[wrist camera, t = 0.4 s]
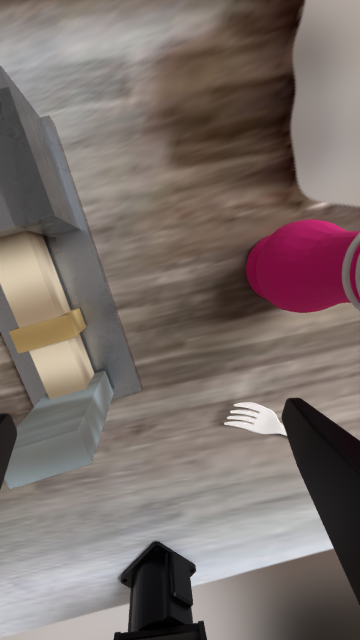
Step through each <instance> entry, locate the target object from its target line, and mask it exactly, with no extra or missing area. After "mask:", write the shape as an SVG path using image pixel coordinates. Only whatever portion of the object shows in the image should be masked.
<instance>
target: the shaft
mask: <svg viewBox="0 0 360 640" xmlns="http://www.w3.org/2000/svg"><path fill="white" fill-rule="evenodd" d="M0 284H1V287H2V289H3V291H4V294H5V296H6V298H7V301H8V303H9V305H10V308H11V310H12V312H13V315H14V317H15V319H16V322H17V324H18V326H19V327H18V328H16V329H13V330H11V331H9V333H10V336H11V338H12V340H13V342H14V345H15V347H16V349H17V352H18V354H19V353H23V352H26V351H29V352H30V354H31V357H32V359H33V361H34V364H35V366H36V368H37V371H38V373H39V375H40V378H41V380H42V382H43V385H44V387H45V389H46V394H45V395H44V396H43V397H42V398H41V399H40V401H39V402H38V403H37V404H36V405H35V407H34V408H33V409H32V410H31V411H30V412H29V414H28V415H27V416H26V417H25V418H24V420H23V421H22V422H21V423H20V424H19V425H18V427H17V428H16V429H17V438H16V442H15V445H14V448H13V451H12V455H11V458H10V461H9V464H8V467H7V471H6V474H5V477H4V479H5V481H6V483H7V485H8V487H9V489H12V488H15V487H18V486H22V485H25V484H28V483H31V482H34V481H38V480H41V479H44V478H47V477H51V476H54V475H57V474H60V473H63V472H67V471H70V470H73V469H76V468H79V467H83V466H86V465H89V464H92V460H93V457H94V454H95V451H96V447H97V444H98V441H99V438H100V435H101V431H102V428H103V425H104V422H105V419H106V415H107V412H108V409H109V406H110V403H111V399H112V396H113V391H112V388H111V386H110V383H109V380H108V377H107V375H106V372H105V371H102V372H98V373H95V374H94V371H93V369H92V366H91V363H90V361H89V358H88V355H87V353H86V350H85V347H84V345H83V342H82V339H81V337H80V334H79V333H80V332H82V331H83V330H84V329H85V328H86V325H85V322H84V320H83V317H82V314H81V311H80V309H79V308H77V309H74V310H70V307H69V305H68V302H67V299H66V297H65V294H64V291H63V289H62V286H61V283H60V281H59V278H58V275H57V273H56V270H55V267H54V265H53V262H52V259H51V257H50V254H49V252H48V249H47V246H46V244H45V241H44V238H43V236H42V234H38V233H35V232H31V231H28V230H25V231H21V232H18V233H14V234H10V235H7V236H3V237H0Z"/></svg>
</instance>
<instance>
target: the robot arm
mask: <svg viewBox="0 0 360 640" xmlns="http://www.w3.org/2000/svg"><path fill="white" fill-rule="evenodd" d="M282 422H283V425H284V428H285V431H286V434H287V437H288V440H289V443H290V446H291V449H292V452H293V455H294V458H295V461H296V463H297V466H298V469H299V471H300V473H301V476H302V478H303V480H304V482H305V484H306V487H307V489H308V491H309V493H310V496H311V498H312V500H313V502H314V505H315V507H316V509H317V511H318V514H319V516H320V518H321V520H322V522H323V525H324V527H325V529H326V531H327V534H328V536H329V538H330V540H331V543H332V545H333V547H334V549H335V551H336V554H337V556H338V558H339V560H340V563H341V565H342V567H343V569H344V571H345V574H346V576H347V578H348V581H349V583H350V585H351V587H352V590H353V592H354V594H355V596H356V598H357V601H358V603H359V605H360V441H359V440H358V439H357V438H355V437H354V436H352V435H351V434H350V433H348V432H347V431H345V430H344V429H343V428H341V427H340V426H339V425H337V424H336V423H334V422H333V421H332V420H330V419H329V418H327V417H326V416H325V415H323V414H322V413H320V412H319V411H318V410H316V409H315V408H313V407H312V406H311V405H309V404H308V403H307V402H305V401H304V400H302V399H301V398H288V399H287V400H286V403H285V406H284V409H283V412H282ZM16 438H17V429H16V427H15V424H14V422H13V419H12V417H11V415H10V414H9V413H0V489H1V486H2V483H3V480H4V477H5V474H6V471H7V467H8V464H9V461H10V458H11V455H12V451H13V448H14V445H15V442H16ZM195 572H196V566H195V564H193V563H192V562H190V561H189V560H187V559H185V558H184V557H182V556H181V555H179V554H177V553H176V552H174V551H173V550H171V549H170V548H168V547H166V546H165V545H163V544H162V543H160V542H154V543H153V544H152V545H151V546H150V547H149V548H148V549H147V550H146V551H145V552H144V553H143V554H142V555H141V556H140V557H139V558H138V559H137V560H136V561H135V562H134V563H133V564H132V565H131V566H130V567H129V568H128V569H127V570H126V571H125V572H124V573H123V574H122V576H121V583H122V584H124V585H126V586H128V587H129V588H131V594H130V609H129V623H128V632H125V633H121V632H116V633H115V635H114V640H207V637H206V632H205V626H204V622H203V621H198V623H193V619H192V611H191V606H192V605H193V599H192V590H191V581H190V577H191V576H192V575H193V574H194V573H195Z"/></svg>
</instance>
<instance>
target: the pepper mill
mask: <svg viewBox="0 0 360 640" xmlns="http://www.w3.org/2000/svg"><path fill="white" fill-rule="evenodd" d="M246 275H247V279H248V282H249V284H250V286H251V288H252V289H253V290H254V291H255V292H256V293H257V294H258V295H260V296H261V297H263V298H266V299H268V300H269V301H270V302H271V303H272V304H274V305H275V306H277V307H278V308H281V309H283V310H287V311H291V312H299V313H307V312H315V311H320V310H324V309H327V308H329V307H332V306H334V305H337V304H340V303H346V302H349V303H352V304H353V305H354V306H355V307H356V308H357V309H358V310H360V231H355V232H351V231H345V230H344V229H342V228H340V227H339V226H337V225H335V224H332V223H329V222H326V221H321V220H314V219H312V220H302V221H296V222H292V223H289V224H287V225H285V226H283V227H281V228H279V229H278V230H277V231H275V232H274V233H273V234H272V235H269V236H267V237H265V238H263V239H262V240H260V241H259V242H258V243H257V244H256V245H255V246H254V247H253V249H252V250H251V252H250V254H249V256H248V260H247V263H246Z"/></svg>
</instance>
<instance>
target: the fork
mask: <svg viewBox="0 0 360 640" xmlns="http://www.w3.org/2000/svg"><path fill="white" fill-rule="evenodd" d="M233 406H236V407H245V408H249V409H253V410H256V411H259V413H255V412H252V411H249V410H232V411H230V413H237V414H245V415H250V416H254V417H256V419H253V418H250V417H247V416H228V417H227V419H236V420H243V421H249V422H253V424H248V423H245V422H240V421H231V422H225V423H224V425H230V426H235V427H240V428H244V429H247V430H250V431H253V432H256V433H260V434H282V435H285V436H287V434H286V431H285V428H284V425H283V424H282V423H280V421H279V420H278V418H277V416H276V414H275V413H274V412H273V411H272V410H270V409H268V408H266V407H263V406H261V405H258V404H256V403H253V402H242V403H237V404H234V405H233Z"/></svg>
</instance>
